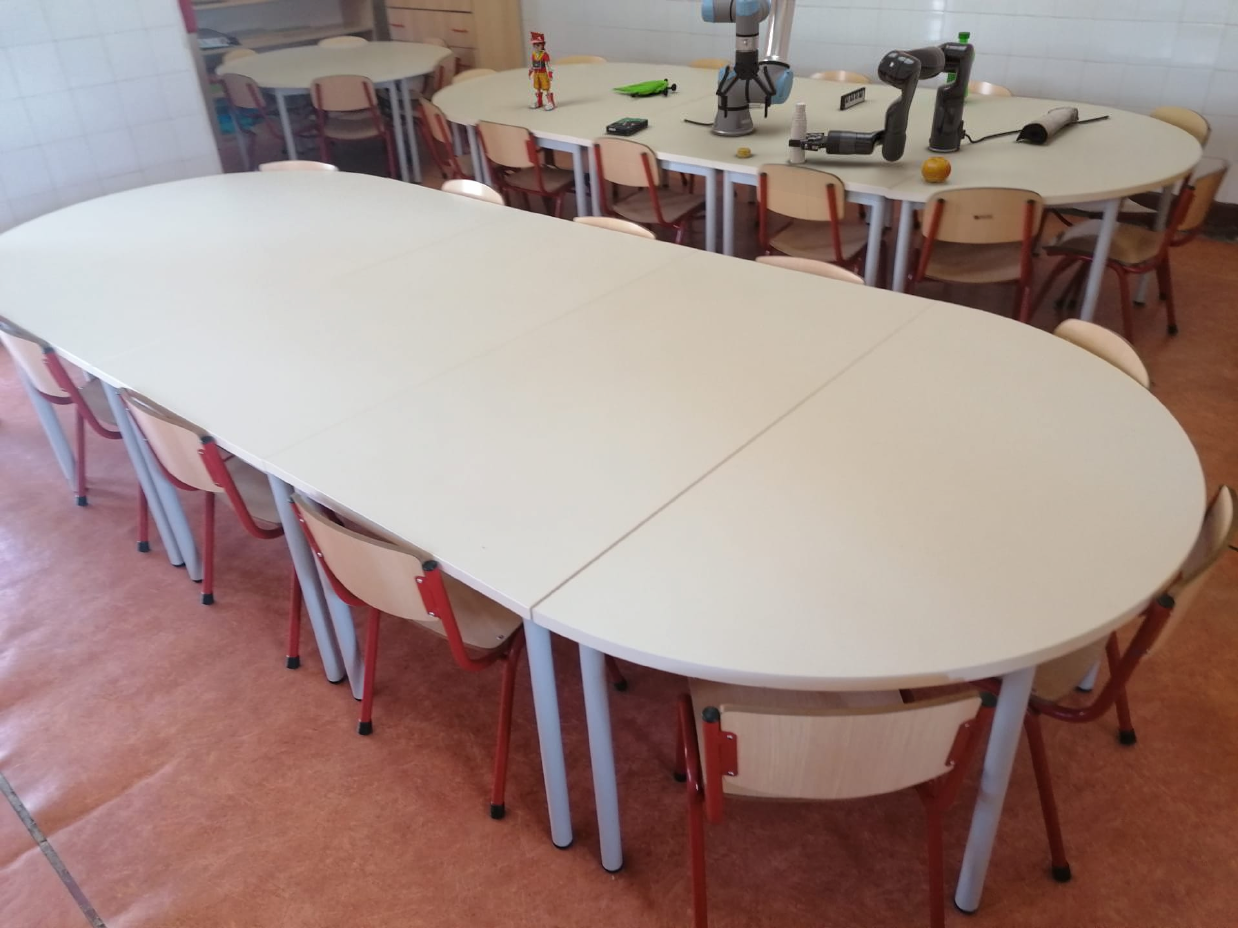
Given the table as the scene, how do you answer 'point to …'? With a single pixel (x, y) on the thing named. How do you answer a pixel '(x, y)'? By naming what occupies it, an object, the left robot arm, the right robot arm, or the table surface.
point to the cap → (744, 152)
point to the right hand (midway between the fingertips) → (790, 141)
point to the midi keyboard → (852, 98)
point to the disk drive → (627, 126)
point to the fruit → (936, 169)
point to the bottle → (798, 133)
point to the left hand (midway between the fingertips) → (745, 117)
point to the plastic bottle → (962, 39)
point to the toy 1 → (541, 71)
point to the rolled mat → (1048, 125)
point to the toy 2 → (648, 88)
